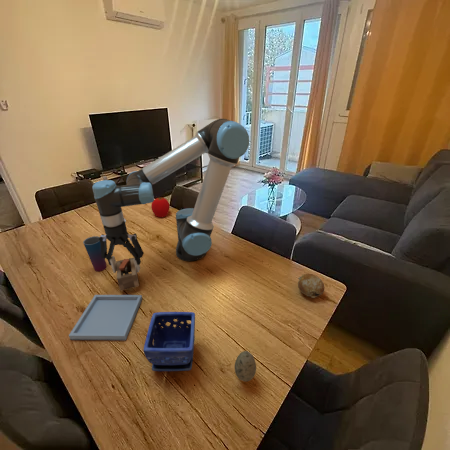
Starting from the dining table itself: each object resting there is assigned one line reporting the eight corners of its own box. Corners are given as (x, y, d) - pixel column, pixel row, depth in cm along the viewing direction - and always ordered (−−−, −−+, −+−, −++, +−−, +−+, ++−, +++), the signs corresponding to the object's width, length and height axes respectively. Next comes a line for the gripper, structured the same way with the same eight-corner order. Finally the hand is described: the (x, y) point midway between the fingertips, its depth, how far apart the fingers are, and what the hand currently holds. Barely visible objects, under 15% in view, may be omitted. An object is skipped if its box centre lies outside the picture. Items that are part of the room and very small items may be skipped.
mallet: (134, 276, 107) (130, 258, 103) (129, 286, 102) (124, 268, 97) (127, 276, 107) (123, 258, 103) (122, 286, 102) (117, 267, 97)
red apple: (158, 222, 152) (155, 203, 146) (150, 216, 159) (147, 197, 153) (174, 216, 159) (172, 198, 153) (165, 211, 166) (163, 193, 160)
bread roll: (300, 302, 98) (309, 296, 91) (291, 278, 103) (298, 271, 97) (322, 298, 100) (332, 291, 94) (312, 274, 106) (320, 267, 99)
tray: (142, 299, 96) (141, 295, 95) (125, 340, 80) (124, 335, 79) (96, 299, 96) (95, 294, 95) (70, 340, 80) (68, 335, 79)
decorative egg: (254, 365, 72) (256, 343, 68) (255, 387, 67) (258, 365, 62) (234, 365, 73) (235, 343, 68) (234, 386, 67) (234, 364, 63)
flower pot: (198, 335, 81) (196, 310, 76) (195, 376, 70) (192, 350, 64) (157, 337, 81) (152, 311, 75) (148, 378, 69) (141, 351, 64)
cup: (102, 273, 109) (93, 245, 102) (89, 271, 110) (79, 243, 103) (111, 264, 115) (104, 237, 108) (98, 262, 116) (90, 235, 109)
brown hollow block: (138, 286, 98) (136, 274, 96) (120, 290, 96) (116, 279, 93) (136, 268, 108) (133, 257, 105) (119, 272, 106) (116, 261, 103)
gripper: (145, 217, 94) (155, 264, 105) (89, 218, 94) (105, 265, 105) (139, 226, 87) (150, 276, 98) (79, 228, 88) (97, 277, 99)
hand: (127, 270), depth 102 cm, fingers closed on brown hollow block, 9 cm apart
